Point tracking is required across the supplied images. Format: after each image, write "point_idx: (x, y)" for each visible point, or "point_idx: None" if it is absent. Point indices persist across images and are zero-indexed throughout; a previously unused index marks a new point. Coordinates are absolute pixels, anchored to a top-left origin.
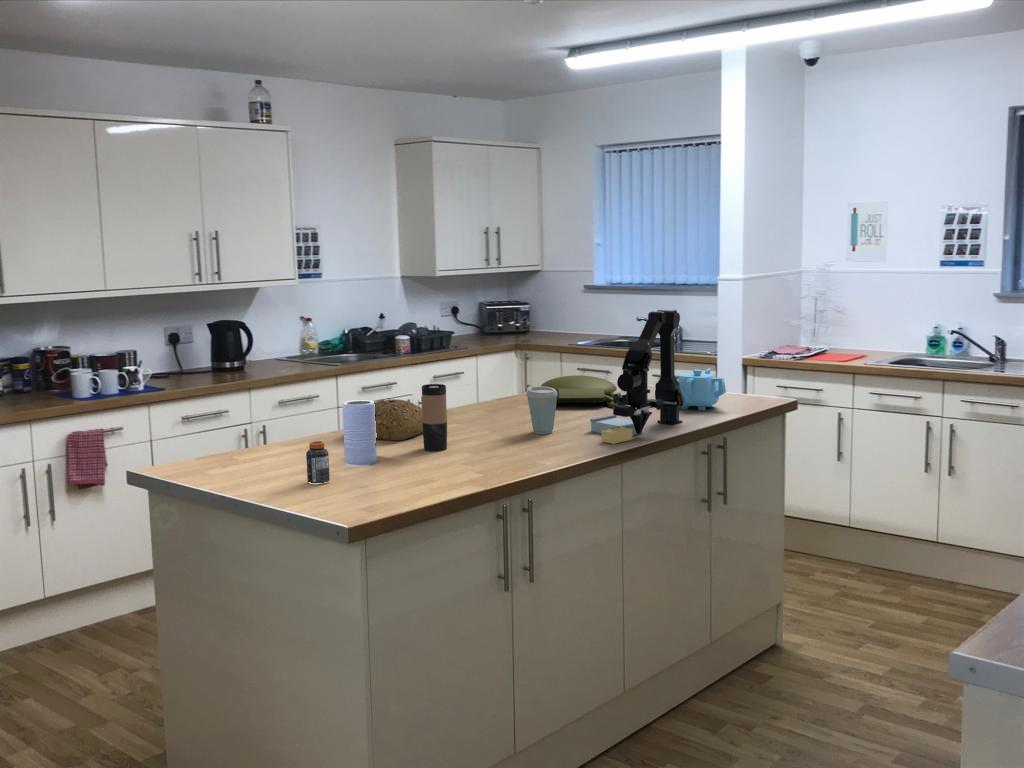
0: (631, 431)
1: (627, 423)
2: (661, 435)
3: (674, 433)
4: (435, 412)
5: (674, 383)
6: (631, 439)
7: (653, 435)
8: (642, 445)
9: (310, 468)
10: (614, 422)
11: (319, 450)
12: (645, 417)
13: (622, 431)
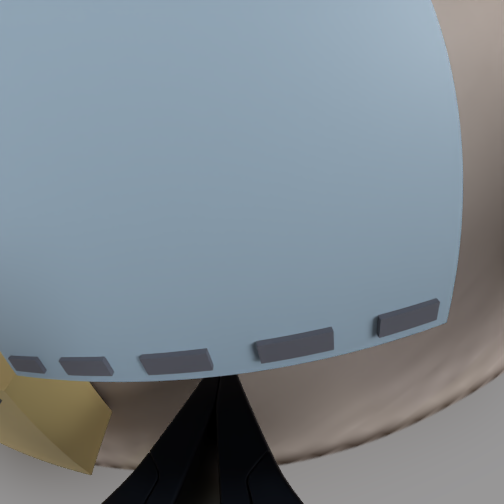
0: (87, 457)
1: (154, 254)
2: (397, 388)
3: (479, 363)
4: None
5: None
6: (104, 412)
7: (361, 374)
8: (128, 466)
9: None
10: (9, 42)
11: None
12: None
13: (22, 450)
